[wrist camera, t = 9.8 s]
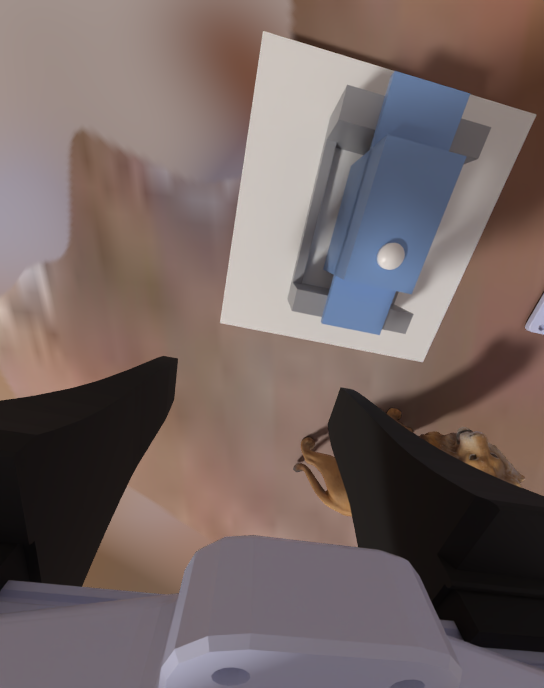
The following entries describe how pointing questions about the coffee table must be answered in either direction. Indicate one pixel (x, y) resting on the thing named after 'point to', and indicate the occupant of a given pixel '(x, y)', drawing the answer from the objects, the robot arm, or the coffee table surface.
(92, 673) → the robot arm
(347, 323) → the block
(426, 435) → the lion figurine
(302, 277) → the pocket plate
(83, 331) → the coffee table surface
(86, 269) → the coffee table surface
